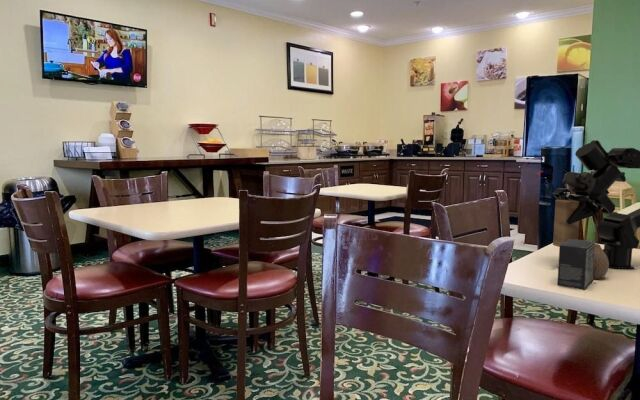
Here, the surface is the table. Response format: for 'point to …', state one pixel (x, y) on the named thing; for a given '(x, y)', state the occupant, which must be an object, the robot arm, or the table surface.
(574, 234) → the walnut block
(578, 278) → the small box
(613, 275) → the table surface
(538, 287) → the table surface
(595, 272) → the vase
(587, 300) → the table surface
